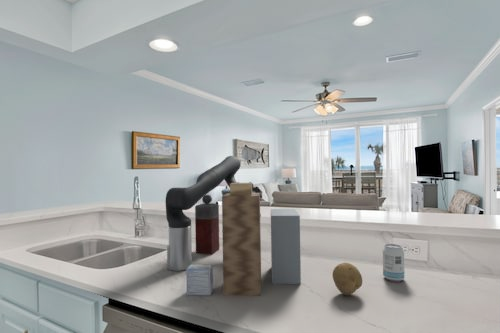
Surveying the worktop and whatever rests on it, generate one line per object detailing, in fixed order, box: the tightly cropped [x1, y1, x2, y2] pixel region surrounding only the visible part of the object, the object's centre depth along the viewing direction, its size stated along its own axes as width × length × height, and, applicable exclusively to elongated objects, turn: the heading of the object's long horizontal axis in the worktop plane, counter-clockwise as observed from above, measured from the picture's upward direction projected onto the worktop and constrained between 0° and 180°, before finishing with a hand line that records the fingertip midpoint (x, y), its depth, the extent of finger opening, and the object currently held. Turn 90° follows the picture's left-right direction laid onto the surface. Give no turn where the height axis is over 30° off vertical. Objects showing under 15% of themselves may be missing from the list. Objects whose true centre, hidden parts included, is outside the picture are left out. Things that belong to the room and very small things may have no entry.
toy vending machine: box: [194, 194, 220, 255], centre depth 142 cm, size 9×11×28 cm
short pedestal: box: [270, 208, 302, 285], centre depth 108 cm, size 10×16×24 cm, turn 177°
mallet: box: [229, 182, 253, 196], centre depth 103 cm, size 20×7×4 cm, turn 177°
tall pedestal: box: [221, 192, 262, 297], centre depth 98 cm, size 12×12×32 cm
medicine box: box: [185, 264, 214, 296], centre depth 94 cm, size 8×4×9 cm, turn 84°
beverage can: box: [382, 243, 405, 283], centre depth 103 cm, size 7×7×12 cm
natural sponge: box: [332, 262, 363, 297], centre depth 91 cm, size 9×9×10 cm
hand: (244, 184), depth 107 cm, fingers open, 4 cm apart
